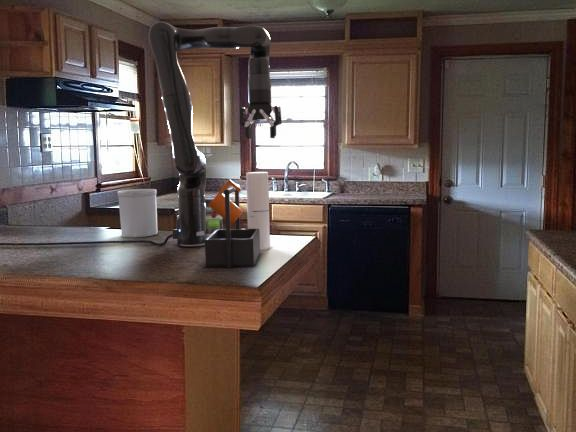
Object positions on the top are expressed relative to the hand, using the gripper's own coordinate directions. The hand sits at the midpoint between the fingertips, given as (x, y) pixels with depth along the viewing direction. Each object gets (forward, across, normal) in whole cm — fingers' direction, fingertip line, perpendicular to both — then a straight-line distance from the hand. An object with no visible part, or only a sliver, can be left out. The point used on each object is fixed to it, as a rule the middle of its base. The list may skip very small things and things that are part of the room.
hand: (260, 138), depth 213 cm
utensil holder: (+36, -59, +12) cm, 70 cm away
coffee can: (+36, -32, +20) cm, 52 cm away
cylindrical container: (+36, +1, -6) cm, 37 cm away
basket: (+36, +3, -28) cm, 46 cm away
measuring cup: (+22, +6, -27) cm, 35 cm away
